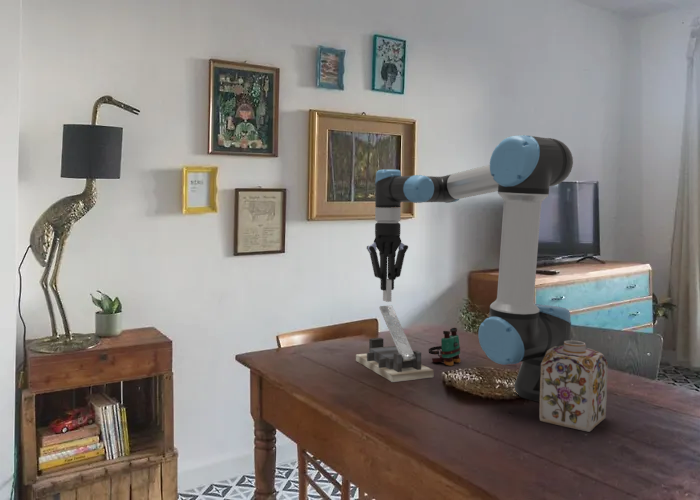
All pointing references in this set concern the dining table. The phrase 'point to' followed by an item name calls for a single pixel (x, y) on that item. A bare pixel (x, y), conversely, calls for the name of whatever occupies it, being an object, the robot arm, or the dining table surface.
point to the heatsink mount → (393, 363)
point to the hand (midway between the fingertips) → (387, 300)
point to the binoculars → (448, 348)
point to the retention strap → (397, 333)
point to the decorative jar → (573, 386)
